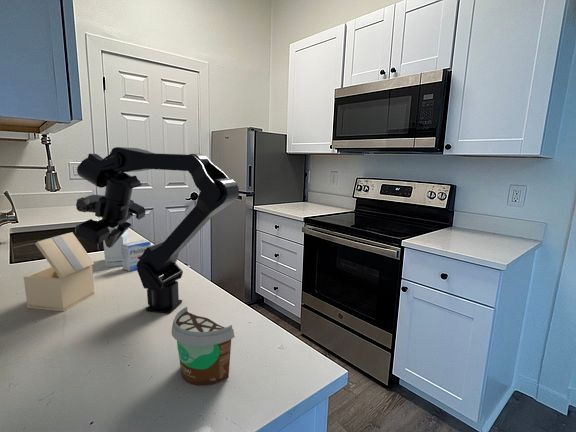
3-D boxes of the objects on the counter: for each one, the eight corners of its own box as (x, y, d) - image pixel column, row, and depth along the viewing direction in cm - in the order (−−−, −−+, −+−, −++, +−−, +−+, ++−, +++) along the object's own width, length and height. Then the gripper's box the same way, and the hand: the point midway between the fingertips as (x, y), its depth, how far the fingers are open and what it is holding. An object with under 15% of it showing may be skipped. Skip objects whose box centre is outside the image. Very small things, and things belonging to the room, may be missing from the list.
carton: (94, 294, 87) (92, 266, 86) (63, 311, 77) (60, 279, 76) (62, 291, 89) (58, 263, 87) (27, 307, 79) (23, 276, 77)
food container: (158, 372, 56) (155, 319, 55) (187, 354, 61) (184, 305, 60) (207, 402, 50) (205, 342, 48) (235, 380, 55) (234, 325, 53)
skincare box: (112, 257, 118) (110, 229, 116) (131, 256, 120) (129, 229, 118) (104, 267, 108) (101, 236, 106) (125, 265, 110) (123, 235, 108)
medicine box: (129, 272, 104) (127, 246, 103) (122, 269, 107) (120, 243, 105) (152, 265, 111) (150, 241, 109) (145, 263, 113) (143, 239, 112)
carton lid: (92, 265, 86) (94, 263, 85) (60, 278, 76) (63, 276, 76) (69, 233, 85) (72, 231, 85) (34, 243, 75) (37, 241, 75)
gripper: (114, 173, 88) (107, 221, 95) (56, 193, 71) (51, 249, 78) (151, 190, 88) (141, 237, 94) (101, 214, 71) (93, 269, 77)
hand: (109, 246), depth 86 cm, fingers closed
